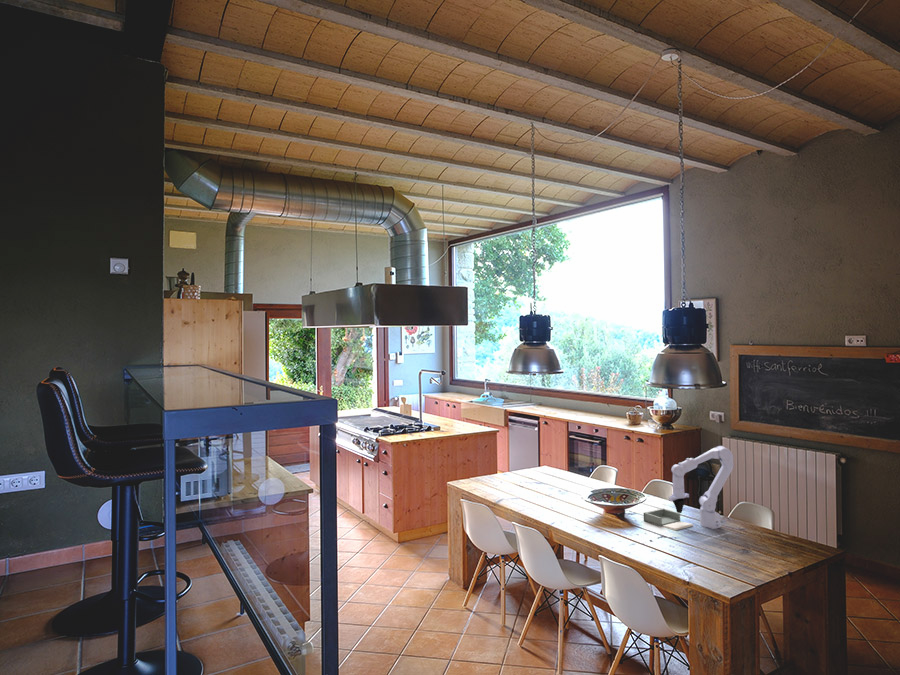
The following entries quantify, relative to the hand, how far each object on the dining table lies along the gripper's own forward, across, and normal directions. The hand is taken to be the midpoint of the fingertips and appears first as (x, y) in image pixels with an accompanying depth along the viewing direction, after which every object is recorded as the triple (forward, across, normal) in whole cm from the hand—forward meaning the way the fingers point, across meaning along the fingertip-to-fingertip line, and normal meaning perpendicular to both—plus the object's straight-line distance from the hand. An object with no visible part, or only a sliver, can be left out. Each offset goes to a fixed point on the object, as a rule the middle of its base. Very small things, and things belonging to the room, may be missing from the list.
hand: (679, 512), depth 293 cm
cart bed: (+7, +4, -8) cm, 11 cm away
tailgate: (+6, +4, +2) cm, 8 cm away
